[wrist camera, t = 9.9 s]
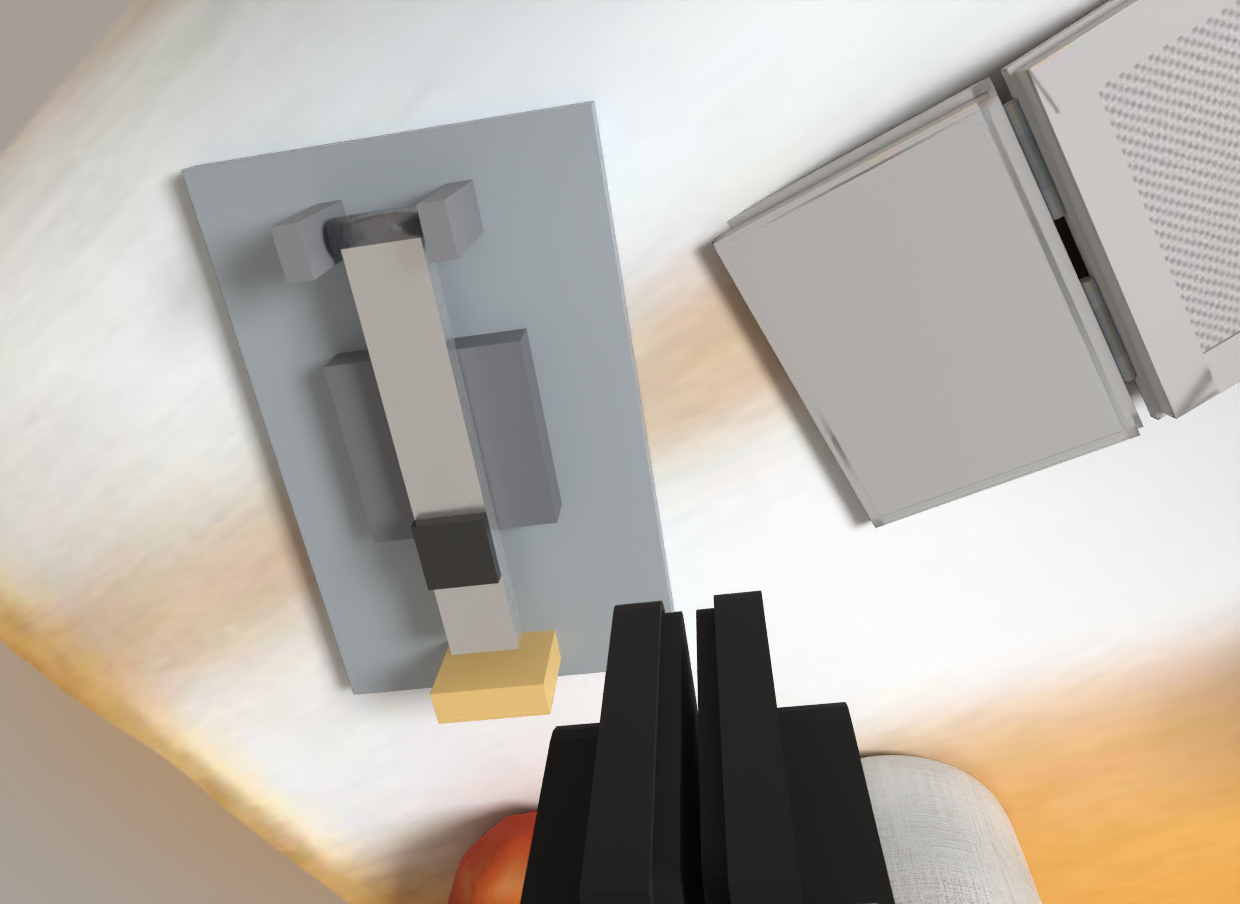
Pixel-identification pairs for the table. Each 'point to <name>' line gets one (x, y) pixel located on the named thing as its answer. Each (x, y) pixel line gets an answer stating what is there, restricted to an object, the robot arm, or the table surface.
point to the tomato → (496, 864)
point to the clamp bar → (430, 425)
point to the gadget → (1015, 261)
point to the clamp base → (479, 295)
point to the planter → (944, 835)
